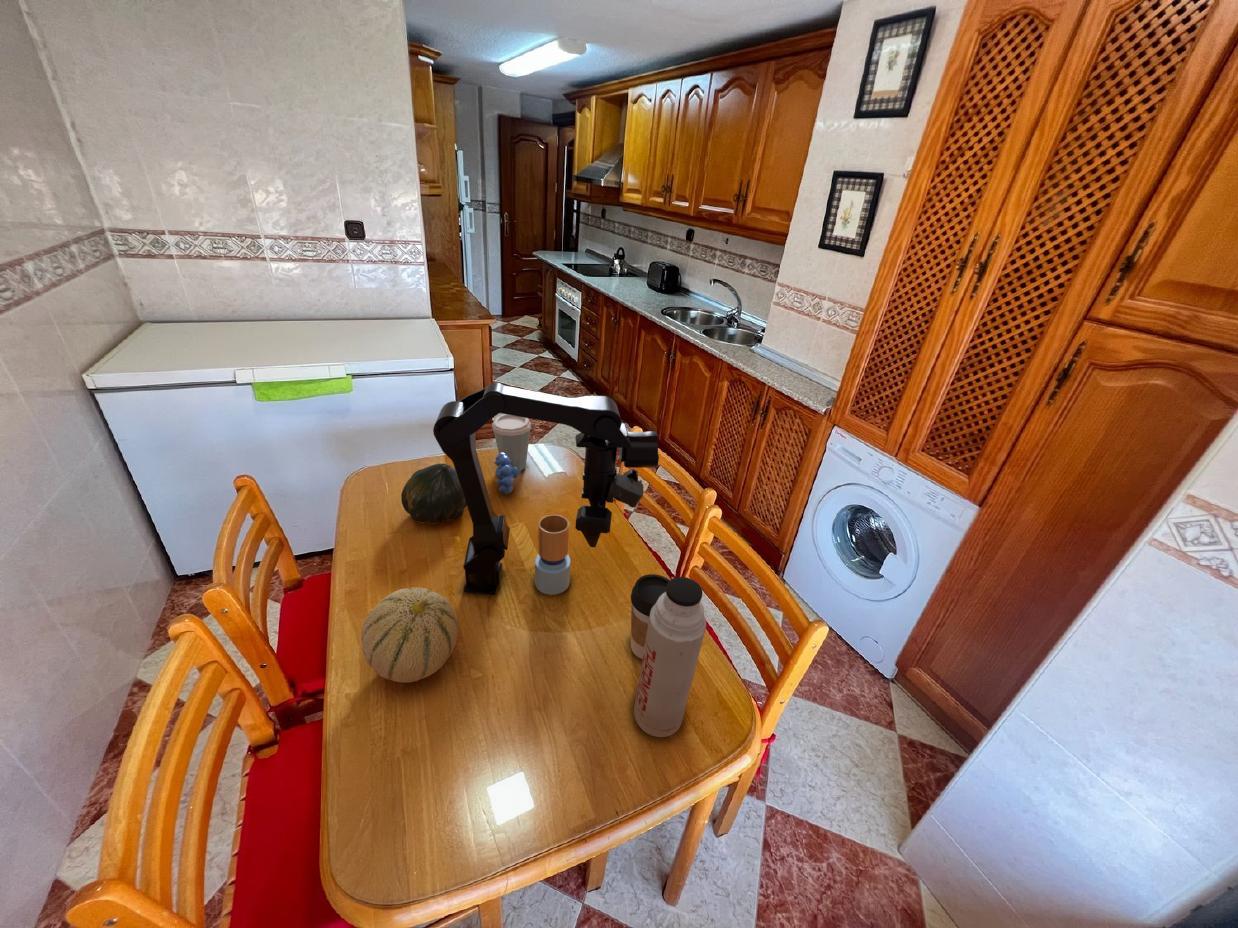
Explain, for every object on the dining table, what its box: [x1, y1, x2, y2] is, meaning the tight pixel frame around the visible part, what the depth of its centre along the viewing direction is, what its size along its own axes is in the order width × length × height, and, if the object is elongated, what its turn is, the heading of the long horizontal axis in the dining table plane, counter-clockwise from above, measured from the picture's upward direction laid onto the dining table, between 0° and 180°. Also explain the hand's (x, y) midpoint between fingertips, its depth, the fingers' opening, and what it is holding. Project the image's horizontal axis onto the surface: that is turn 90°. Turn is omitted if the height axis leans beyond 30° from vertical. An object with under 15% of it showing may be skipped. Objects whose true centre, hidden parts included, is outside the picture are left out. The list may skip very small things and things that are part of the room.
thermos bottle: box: [633, 576, 707, 738], centre depth 74 cm, size 8×8×28 cm
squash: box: [400, 463, 467, 525], centre depth 117 cm, size 14×15×15 cm
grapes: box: [494, 452, 522, 495], centre depth 128 cm, size 12×7×12 cm, turn 23°
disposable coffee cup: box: [491, 413, 532, 472], centre depth 138 cm, size 11×11×15 cm
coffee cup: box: [630, 573, 671, 660], centre depth 88 cm, size 8×8×15 cm
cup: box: [537, 513, 571, 561], centre depth 98 cm, size 6×6×7 cm
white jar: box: [534, 553, 572, 596], centre depth 102 cm, size 7×7×8 cm
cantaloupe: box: [360, 586, 459, 683], centre depth 81 cm, size 15×15×15 cm
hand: (595, 531), depth 99 cm, fingers open, 9 cm apart
